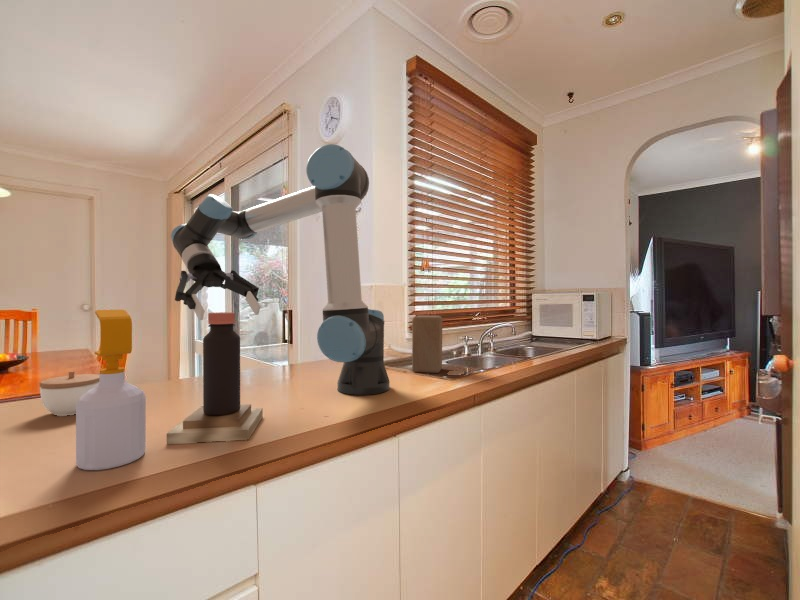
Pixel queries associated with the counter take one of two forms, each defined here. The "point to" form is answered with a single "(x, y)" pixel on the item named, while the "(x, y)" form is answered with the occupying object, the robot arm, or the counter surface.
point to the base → (215, 432)
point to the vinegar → (221, 366)
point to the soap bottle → (111, 404)
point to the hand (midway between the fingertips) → (231, 313)
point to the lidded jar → (66, 392)
